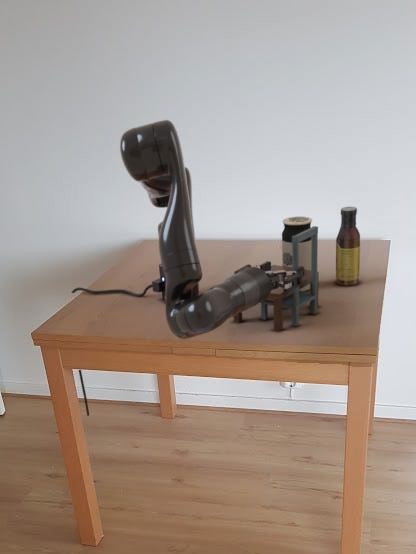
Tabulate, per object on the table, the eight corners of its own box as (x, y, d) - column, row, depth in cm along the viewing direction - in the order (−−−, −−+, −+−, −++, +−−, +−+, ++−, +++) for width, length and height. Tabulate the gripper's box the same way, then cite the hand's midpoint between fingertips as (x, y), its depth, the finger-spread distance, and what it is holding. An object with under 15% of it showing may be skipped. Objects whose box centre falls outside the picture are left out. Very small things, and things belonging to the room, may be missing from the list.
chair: (260, 319, 165) (257, 232, 154) (282, 306, 171) (281, 222, 161) (296, 326, 159) (296, 237, 149) (318, 312, 166) (319, 226, 155)
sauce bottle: (343, 277, 187) (345, 203, 177) (363, 281, 184) (366, 205, 174) (330, 284, 183) (332, 209, 173) (351, 288, 179) (354, 211, 169)
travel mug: (302, 280, 187) (302, 214, 178) (318, 288, 181) (319, 220, 172) (277, 286, 185) (275, 219, 176) (292, 294, 178) (292, 225, 169)
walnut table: (234, 321, 165) (232, 286, 160) (274, 298, 177) (273, 264, 172) (279, 331, 158) (278, 294, 153) (318, 306, 170) (318, 271, 165)
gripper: (272, 277, 133) (314, 255, 144) (214, 268, 141) (258, 247, 152) (273, 313, 137) (314, 289, 148) (217, 302, 145) (259, 280, 156)
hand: (285, 268), depth 150 cm, fingers open, 8 cm apart
